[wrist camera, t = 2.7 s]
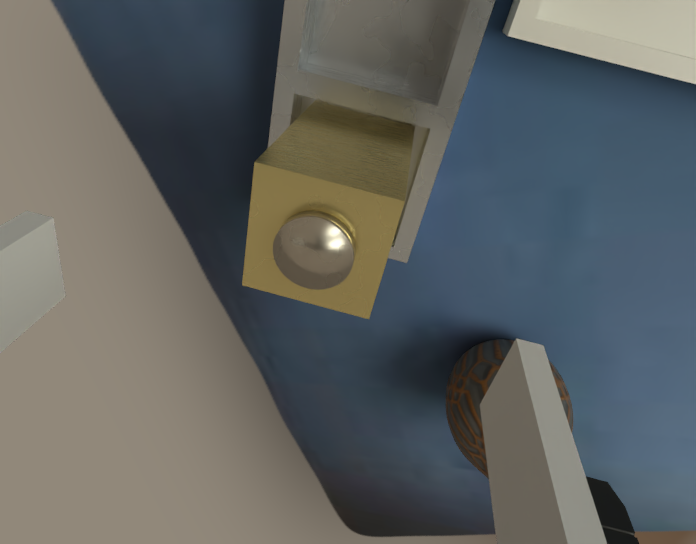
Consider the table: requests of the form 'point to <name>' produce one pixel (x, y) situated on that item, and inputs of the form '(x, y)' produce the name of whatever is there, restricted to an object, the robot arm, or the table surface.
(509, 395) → the robot arm
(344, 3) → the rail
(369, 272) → the knobbed block
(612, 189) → the table surface
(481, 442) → the vase
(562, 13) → the tray
